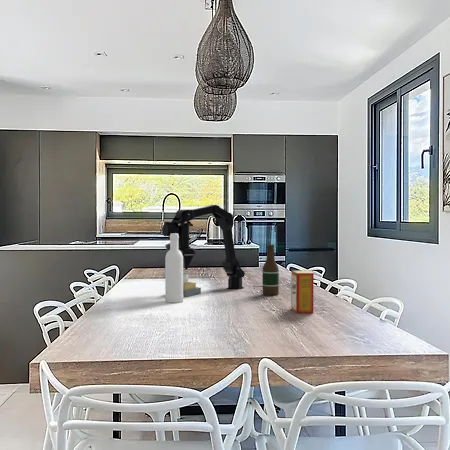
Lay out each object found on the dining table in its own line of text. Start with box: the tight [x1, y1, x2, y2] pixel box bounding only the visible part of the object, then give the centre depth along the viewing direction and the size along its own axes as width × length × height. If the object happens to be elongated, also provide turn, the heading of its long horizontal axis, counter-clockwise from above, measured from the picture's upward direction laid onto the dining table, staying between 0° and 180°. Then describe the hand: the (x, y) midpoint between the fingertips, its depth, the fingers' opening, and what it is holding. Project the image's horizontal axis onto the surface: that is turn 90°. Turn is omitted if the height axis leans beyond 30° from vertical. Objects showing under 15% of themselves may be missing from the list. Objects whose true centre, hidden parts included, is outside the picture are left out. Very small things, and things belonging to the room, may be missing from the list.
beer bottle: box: [261, 244, 280, 297], centre depth 233 cm, size 8×8×24 cm
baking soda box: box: [290, 269, 315, 314], centre depth 193 cm, size 10×6×16 cm
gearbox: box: [183, 281, 202, 298], centre depth 233 cm, size 14×12×6 cm
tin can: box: [183, 271, 189, 284], centre depth 233 cm, size 5×5×7 cm
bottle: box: [164, 233, 184, 304], centre depth 214 cm, size 8×8×30 cm
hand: (183, 268), depth 232 cm, fingers open, 9 cm apart
